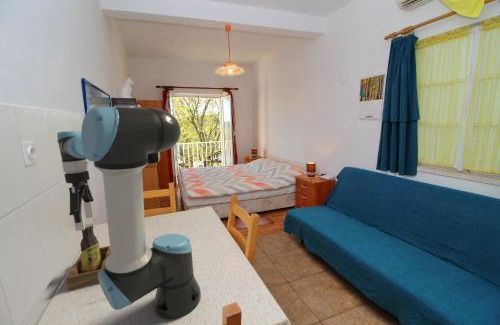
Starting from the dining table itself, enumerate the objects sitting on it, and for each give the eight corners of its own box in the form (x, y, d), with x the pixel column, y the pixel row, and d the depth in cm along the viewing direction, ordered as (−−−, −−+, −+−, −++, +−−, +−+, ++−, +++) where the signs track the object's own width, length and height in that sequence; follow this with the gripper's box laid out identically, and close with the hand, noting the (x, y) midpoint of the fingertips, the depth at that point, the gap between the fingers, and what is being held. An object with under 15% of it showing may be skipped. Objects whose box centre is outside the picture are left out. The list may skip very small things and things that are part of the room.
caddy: (135, 276, 93) (133, 262, 92) (69, 293, 85) (66, 278, 84) (138, 251, 111) (136, 240, 110) (84, 263, 103) (82, 251, 102)
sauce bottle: (92, 276, 92) (83, 230, 89) (80, 274, 94) (71, 228, 91) (106, 266, 98) (98, 223, 95) (95, 264, 100) (87, 221, 97)
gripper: (78, 176, 79) (88, 234, 82) (95, 165, 102) (103, 211, 105) (50, 179, 76) (62, 239, 79) (75, 167, 99) (83, 214, 102)
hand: (85, 223), depth 92 cm, fingers open, 13 cm apart
